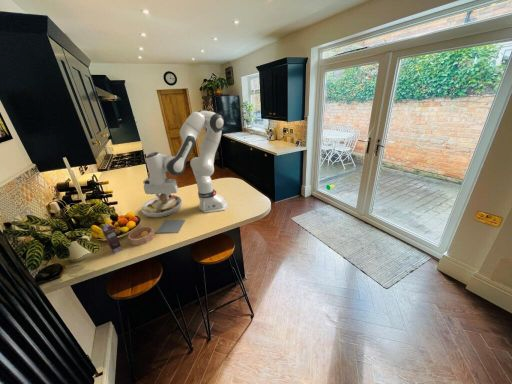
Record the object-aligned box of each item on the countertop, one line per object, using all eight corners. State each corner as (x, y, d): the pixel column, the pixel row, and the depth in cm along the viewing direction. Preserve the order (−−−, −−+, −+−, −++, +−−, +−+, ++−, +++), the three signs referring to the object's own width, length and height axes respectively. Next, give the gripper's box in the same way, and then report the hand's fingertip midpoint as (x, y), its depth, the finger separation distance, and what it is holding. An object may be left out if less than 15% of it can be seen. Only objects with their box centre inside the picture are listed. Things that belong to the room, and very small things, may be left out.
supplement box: (109, 248, 129) (99, 226, 122) (118, 243, 132) (109, 222, 125) (114, 254, 123) (104, 231, 117) (123, 249, 127) (114, 227, 120)
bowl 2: (174, 219, 155) (171, 210, 152) (134, 219, 158) (131, 210, 154) (188, 200, 182) (186, 191, 179) (154, 200, 185) (152, 192, 181)
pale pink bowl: (179, 198, 145) (177, 189, 142) (171, 209, 132) (169, 199, 129) (159, 199, 145) (156, 190, 142) (149, 209, 133) (146, 199, 130)
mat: (185, 220, 153) (185, 219, 153) (178, 232, 139) (177, 232, 139) (164, 220, 154) (164, 220, 153) (155, 233, 140) (155, 232, 140)
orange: (146, 237, 139) (151, 233, 138) (143, 240, 134) (148, 236, 134) (141, 232, 138) (146, 228, 137) (138, 236, 133) (143, 231, 133)
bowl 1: (158, 231, 142) (156, 226, 141) (147, 244, 130) (146, 239, 128) (137, 231, 143) (135, 226, 141) (125, 245, 130) (123, 240, 129)
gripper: (177, 176, 134) (181, 196, 140) (145, 177, 135) (150, 197, 141) (173, 180, 128) (178, 201, 134) (140, 181, 129) (146, 202, 135)
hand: (163, 199), depth 137 cm, fingers closed on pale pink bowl, 3 cm apart
